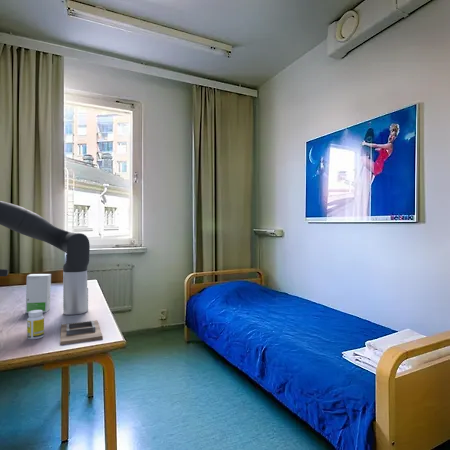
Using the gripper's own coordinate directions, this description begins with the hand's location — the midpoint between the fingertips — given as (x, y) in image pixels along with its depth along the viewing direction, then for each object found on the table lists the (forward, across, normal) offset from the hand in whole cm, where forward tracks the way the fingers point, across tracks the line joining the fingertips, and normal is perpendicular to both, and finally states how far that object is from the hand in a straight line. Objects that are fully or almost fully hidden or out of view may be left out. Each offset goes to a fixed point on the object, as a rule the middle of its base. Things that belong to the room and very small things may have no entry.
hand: (2, 274), depth 105 cm
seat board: (+24, +2, +19) cm, 31 cm away
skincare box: (+2, +38, +20) cm, 43 cm away
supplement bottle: (+11, +1, +20) cm, 23 cm away
